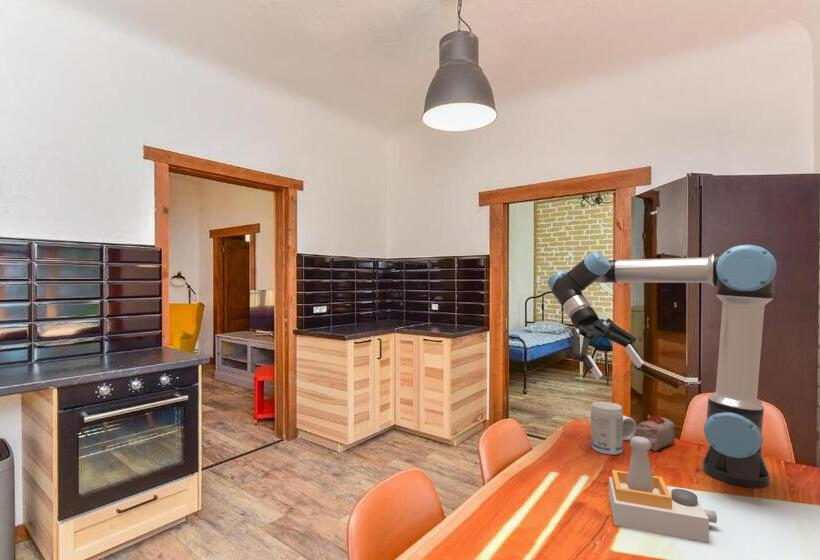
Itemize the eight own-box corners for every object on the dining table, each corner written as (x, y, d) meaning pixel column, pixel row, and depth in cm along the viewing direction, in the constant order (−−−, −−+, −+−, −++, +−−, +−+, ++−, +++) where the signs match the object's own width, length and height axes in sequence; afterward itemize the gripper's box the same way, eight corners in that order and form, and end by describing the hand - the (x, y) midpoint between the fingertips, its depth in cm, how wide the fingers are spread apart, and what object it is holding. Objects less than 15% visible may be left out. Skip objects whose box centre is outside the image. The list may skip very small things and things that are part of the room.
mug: (614, 430, 161) (614, 408, 161) (636, 439, 152) (636, 416, 152) (588, 433, 157) (588, 411, 157) (609, 443, 148) (609, 419, 148)
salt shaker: (651, 490, 103) (652, 435, 103) (656, 501, 98) (657, 444, 98) (624, 486, 105) (625, 432, 105) (627, 496, 100) (628, 440, 100)
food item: (657, 453, 139) (657, 423, 139) (632, 445, 146) (633, 416, 146) (677, 445, 147) (677, 416, 147) (652, 438, 153) (653, 410, 154)
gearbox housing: (705, 512, 103) (706, 481, 103) (725, 546, 90) (726, 509, 90) (609, 496, 110) (609, 467, 110) (614, 525, 97) (614, 491, 97)
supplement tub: (613, 444, 146) (613, 401, 147) (629, 455, 137) (629, 409, 137) (585, 444, 146) (585, 401, 146) (599, 456, 136) (600, 409, 136)
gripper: (610, 311, 141) (651, 366, 128) (542, 328, 136) (577, 388, 123) (619, 297, 135) (663, 353, 123) (548, 315, 130) (586, 376, 117)
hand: (620, 371), depth 123 cm, fingers open, 13 cm apart
